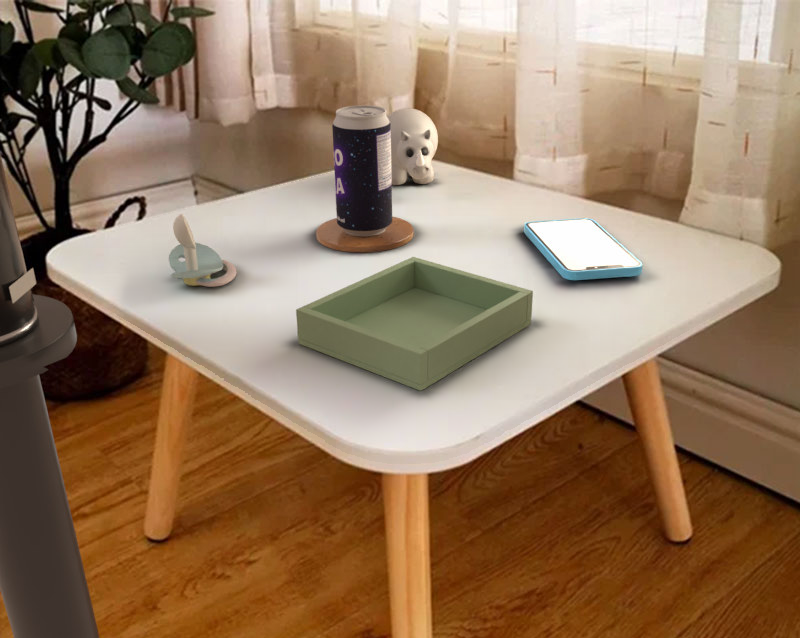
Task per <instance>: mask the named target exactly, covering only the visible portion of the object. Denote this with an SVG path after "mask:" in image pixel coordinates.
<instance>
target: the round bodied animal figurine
mask: <svg viewBox="0 0 800 638" xmlns="http://www.w3.org/2000/svg"><path fill="white" fill-rule="evenodd" d="M386 116H387V118H388V120H389V121H390V124H391V176H392V185H394V186H399V185H404V184H405V183H406V182H407V180H408V177H412V181H413V183H415V184H418V185H427V184H430V183H432V182H433V181H434V179H435V178H434V177H435V172H434V168H433V164H432V160H433V158H434V156H435V154H436V152H437V149H438V145H439V136H438V135H439V133H438V130H437V127H436V125H435V124H434V122H433V120H432V118H431V117H429V116H428V115H427V114H426V113H425V112H423V111H421V110H419V109H416V108H411V107H406V108H405V107H404V108H400V109H397V110H394V111H392V112H391V113H389V114H388V115H386Z"/></svg>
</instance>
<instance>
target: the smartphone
mask: <svg viewBox="0 0 800 638" xmlns="http://www.w3.org/2000/svg"><path fill="white" fill-rule="evenodd" d="M523 234H524V235H525V236H526V237H527V238H528V239H529V240H530V242H532V244H533V245H534V246H535V247H536V248H537V250H538V251H539V252H540V253H541V254H542V255H543V256H544V258H545V259H546V260H547V261H548V263H550V264H551V266H552V267H553V268H554V269H555V270H556V272H557V273H558V274H559V275H560V276H561V277H562V278H563V279H565V280H569V281H582V280H583V281H584V280H596V279H597V280H598V279H611V278H623V277H624V278H625V277H626V278H633V277H636V276H640V275H642V273H643V267H644V266H643V265H644V264H643V262H642V261H641V260H640V259H639V258H638V257H636V256H635V255H634V254H633V253H632V252H631V251H630V250H629V249H627V248H626V247H625V246H624V245H623V244H622V243H621V242H620V241H618V240H617V238H615V237H614V236H613V235H612V234H610V232H608V231H607V230H606V229H605V228H604V227H603V226H602V225H600V223H598V222H597V221H596V220H595V219H592V218H585V217H581V218H566V219H565V218H564V219H550V220H549V219H548V220H536V221H527V222H524V226H523Z"/></svg>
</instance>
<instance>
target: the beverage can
mask: <svg viewBox="0 0 800 638" xmlns="http://www.w3.org/2000/svg"><path fill="white" fill-rule="evenodd" d="M387 116H388V115H387V110H386V109H385V107H381V106H378V105H367V104H366V105H365V104H359V105H349V106H342V107H340V108H338V109H336V110H335V118H334V120H333V121H332V122H333V123H332V125H331V128H332V129H331V131H332V145H333V147H332V148H333V166H334V167H333V168H334V188H335V189H334V191H335V211H336V218H337V224H338V225H339V226H340V227H341V228H343V229H344V230H345V232H346V233H347V234H350V235H353V236H361V237H366V236H374V235H378V234H381V233H383V232H384V231H385V229H386V228H387V227H388V226H389V225H390V224H391V223H392V217H393V188H392V185H393V184H392V176H391V124H390V121H389V120H388V118H387Z"/></svg>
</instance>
